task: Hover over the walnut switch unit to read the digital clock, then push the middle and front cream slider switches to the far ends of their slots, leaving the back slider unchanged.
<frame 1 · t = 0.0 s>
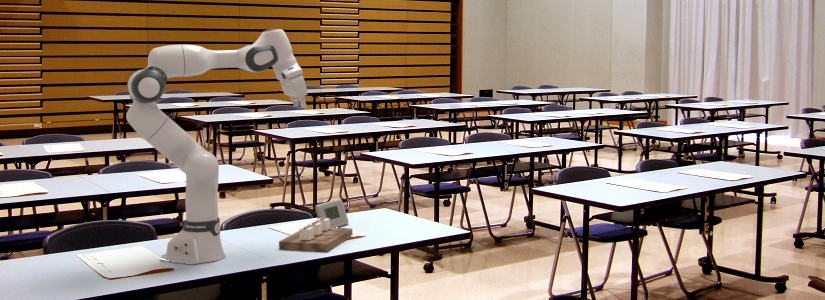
hand: (300, 106, 308), 52 cm above the table, tool tilted 20°, fingers open, 8 cm apart
digital clock: (332, 228, 345), on the table
switch front: (306, 232, 311), point 6 cm above the table, slide at 0.0 cm
switch back: (323, 223, 327), point 6 cm above the table, slide at 0.0 cm
switch housing: (317, 242, 320), on the table
switch middle: (315, 228, 319), point 6 cm above the table, slide at 0.0 cm
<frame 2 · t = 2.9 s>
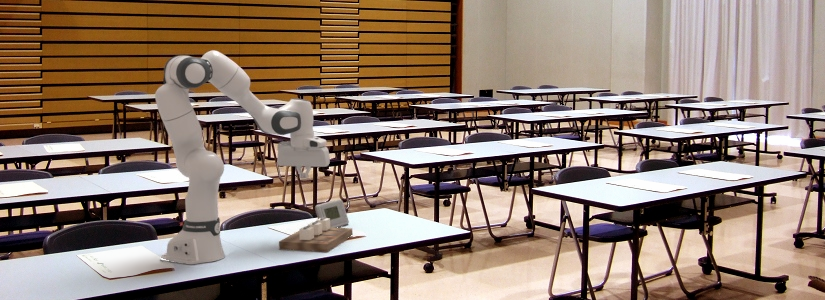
hand: (304, 178, 318), 25 cm above the table, tool pointing down, fingers closed
nothing on the table moved.
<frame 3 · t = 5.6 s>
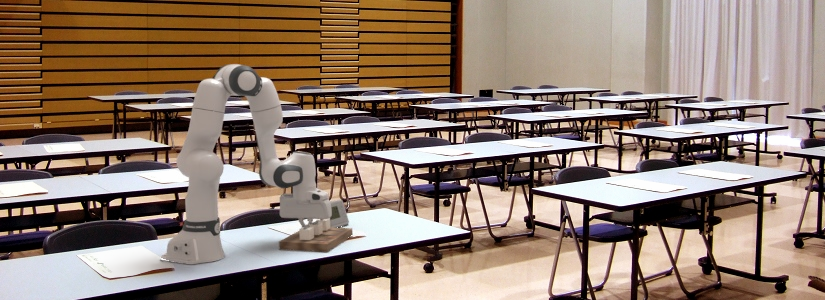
hand: (306, 229, 320), 5 cm above the table, tool pointing down, fingers closed
switch middle: (315, 228, 319), point 6 cm above the table, slide at 0.1 cm, touching gripper
everything else where it was.
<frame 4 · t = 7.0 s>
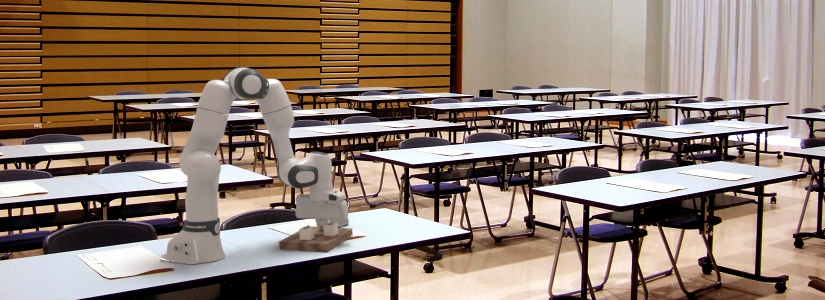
hand: (322, 230, 319), 5 cm above the table, tool pointing down, fingers closed
switch middle: (330, 228, 317), point 6 cm above the table, slide at 6.4 cm, touching gripper
everything else where it was.
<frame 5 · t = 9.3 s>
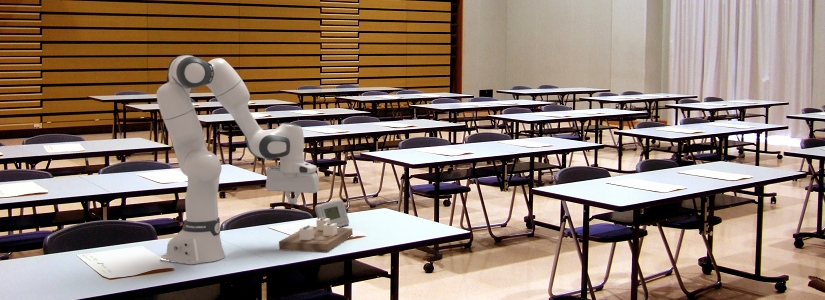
hand: (292, 203, 313), 16 cm above the table, tool pointing down, fingers closed
switch middle: (330, 228, 317), point 6 cm above the table, slide at 6.1 cm
everything else where it was.
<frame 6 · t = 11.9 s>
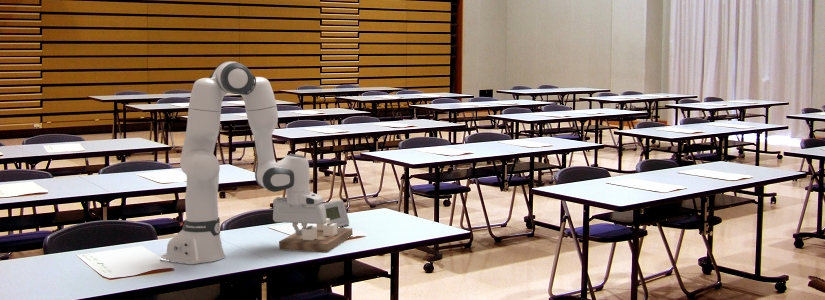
hand: (300, 234, 313), 5 cm above the table, tool pointing down, fingers closed
switch front: (309, 232, 311), point 6 cm above the table, slide at 1.2 cm, touching gripper
everything else where it was.
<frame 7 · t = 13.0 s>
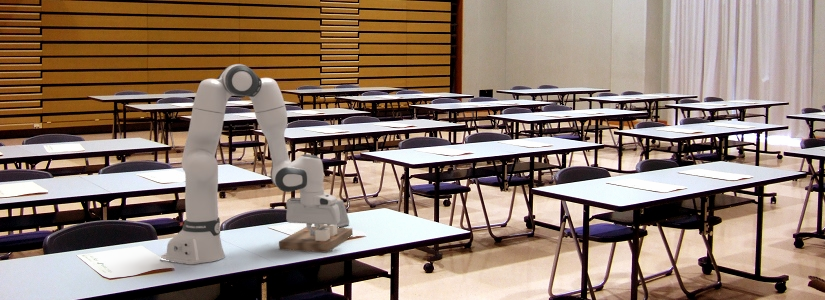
hand: (313, 235, 311), 5 cm above the table, tool pointing down, fingers closed
switch front: (322, 233, 310), point 6 cm above the table, slide at 6.3 cm, touching gripper
everything else where it was.
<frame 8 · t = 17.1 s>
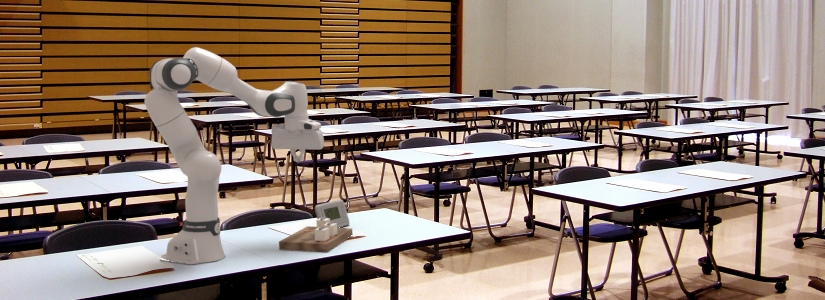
hand: (298, 160, 317), 31 cm above the table, tool pointing down, fingers closed
switch front: (322, 233, 310), point 6 cm above the table, slide at 6.1 cm
at the end: switch middle slide at 6.1 cm; switch front slide at 6.1 cm; switch back slide at 0.0 cm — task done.
